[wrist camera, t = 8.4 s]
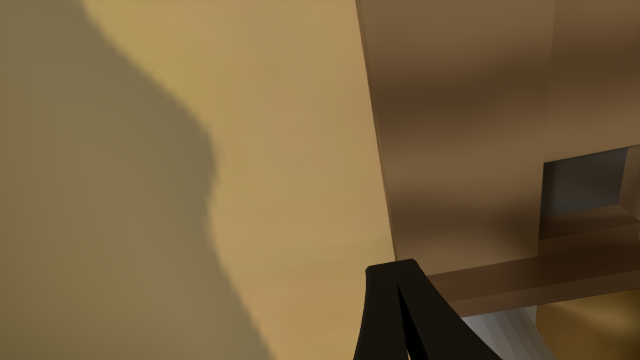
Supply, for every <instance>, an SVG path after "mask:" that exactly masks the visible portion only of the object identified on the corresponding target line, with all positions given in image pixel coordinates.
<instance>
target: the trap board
mask: <svg viewBox="0 0 640 360" xmlns="http://www.w3.org/2000/svg"><path fill="white" fill-rule="evenodd" d="M355 1H356V7H357V14H358V20H359V27H360V33H361V40H362V46H363V53H364V59H365V66H366V72H367V79H368V85H369V92H370V98H371V105H372V111H373V118H374V124H375V131H376V137H377V144H378V150H379V157H380V164H381V170H382V177H383V183H384V190H385V196H386V203H387V209H388V216H389V222H390V229H391V235H392V242H393V248H394V255H395V261H400V260H405V259H411V258H412V259H414V260H416V261H417V263H418V264H419V266H420V268H421V269H422V271H423V272H424V274H425V275H426V276H427V278H428V279H429V280H430V282H431V283H432V284H433V286H434V287H435V288H436V290H437V291H438V292H439V293H440V295H441V296H442V297H443V298H444V299H445V301H446V302H447V303H448V304H449V305H450V306H451V307H452V308H453V310H454V311H455V312H456V313H457V314H458V315H459V316H460V318H464V317H470V316H476V315H482V314H488V313H494V312H500V311H505V310H511V309H517V308H523V307H529V306H535V305H541V304H547V303H553V302H559V301H565V300H571V299H577V298H583V297H589V296H595V295H601V294H607V293H613V292H619V291H625V290H631V289H637V288H640V0H355Z"/></svg>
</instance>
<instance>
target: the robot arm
mask: <svg viewBox="0 0 640 360" xmlns="http://www.w3.org/2000/svg"><path fill="white" fill-rule="evenodd" d="M365 271H366V294H365V303H364V310H363V316H362V322H361V328H360V333H359V337H358V342H357V346H356V350H355V354H354V358H353V360H409V358H408V353H409V356H410V359H411V360H557V359H556V358H555V356H554V355H553V353H552V351H551V350H550V348H549V347H548V345H547V343H546V342H545V340H544V339H543V337H542V335H541V334H540V332H539V331H538V329H537V327H536V326H535V324H536V311H537V305H535V306H529V307H523V308H517V309H511V310H505V311H500V312H494V313H488V314H482V315H476V316H470V317H464V318H460V316H459V315H458V314H457V313H456V312H455V311H454V310H453V308H452V307H451V306H450V305H449V304H448V303H447V302H446V301H445V299H444V298H443V297H442V296H441V295H440V293H439V292H438V291H437V290H436V288H435V287H434V286H433V284H432V283H431V282H430V280H429V279H428V278H427V276H426V275H425V274H424V272H423V271H422V269H421V268H420V266H419V264H418V263H417V261H416V260H414V259H412V258H411V259H405V260H400V261H394V262H389V263H383V264H377V265H372V266H368V267H367V269H366V270H365ZM407 350H408V352H407Z"/></svg>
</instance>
